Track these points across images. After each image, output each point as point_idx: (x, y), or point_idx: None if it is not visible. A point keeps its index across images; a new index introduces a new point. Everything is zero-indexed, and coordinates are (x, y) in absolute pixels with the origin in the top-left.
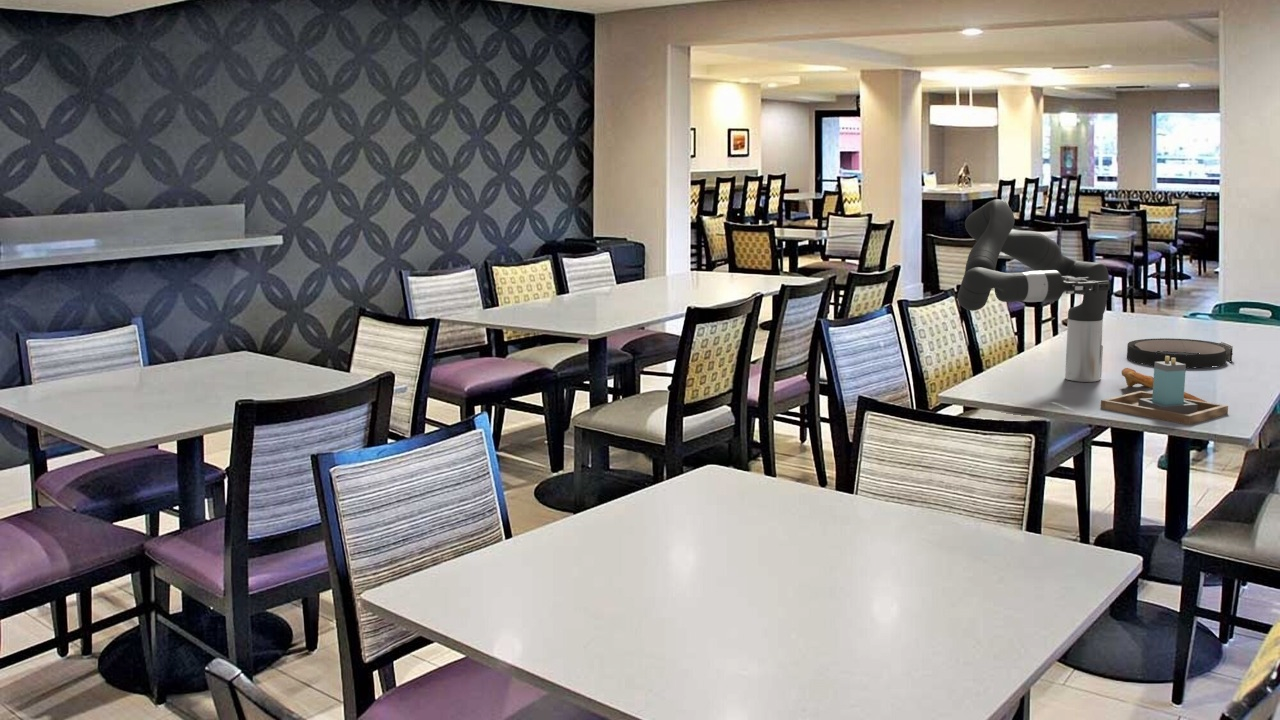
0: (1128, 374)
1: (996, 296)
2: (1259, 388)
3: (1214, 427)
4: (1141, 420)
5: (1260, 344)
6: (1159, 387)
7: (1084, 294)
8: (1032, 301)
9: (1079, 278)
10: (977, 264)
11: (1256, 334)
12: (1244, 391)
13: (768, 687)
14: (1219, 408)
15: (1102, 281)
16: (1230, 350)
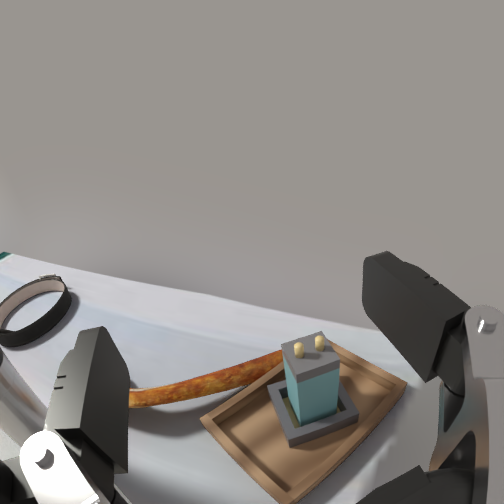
0: (133, 407)
1: None
2: (166, 293)
3: (397, 365)
4: (374, 453)
5: (37, 264)
6: (318, 398)
7: None
8: None
9: (88, 410)
10: None
11: (19, 261)
12: (176, 306)
13: None
14: (336, 344)
15: (426, 280)
16: (59, 278)
